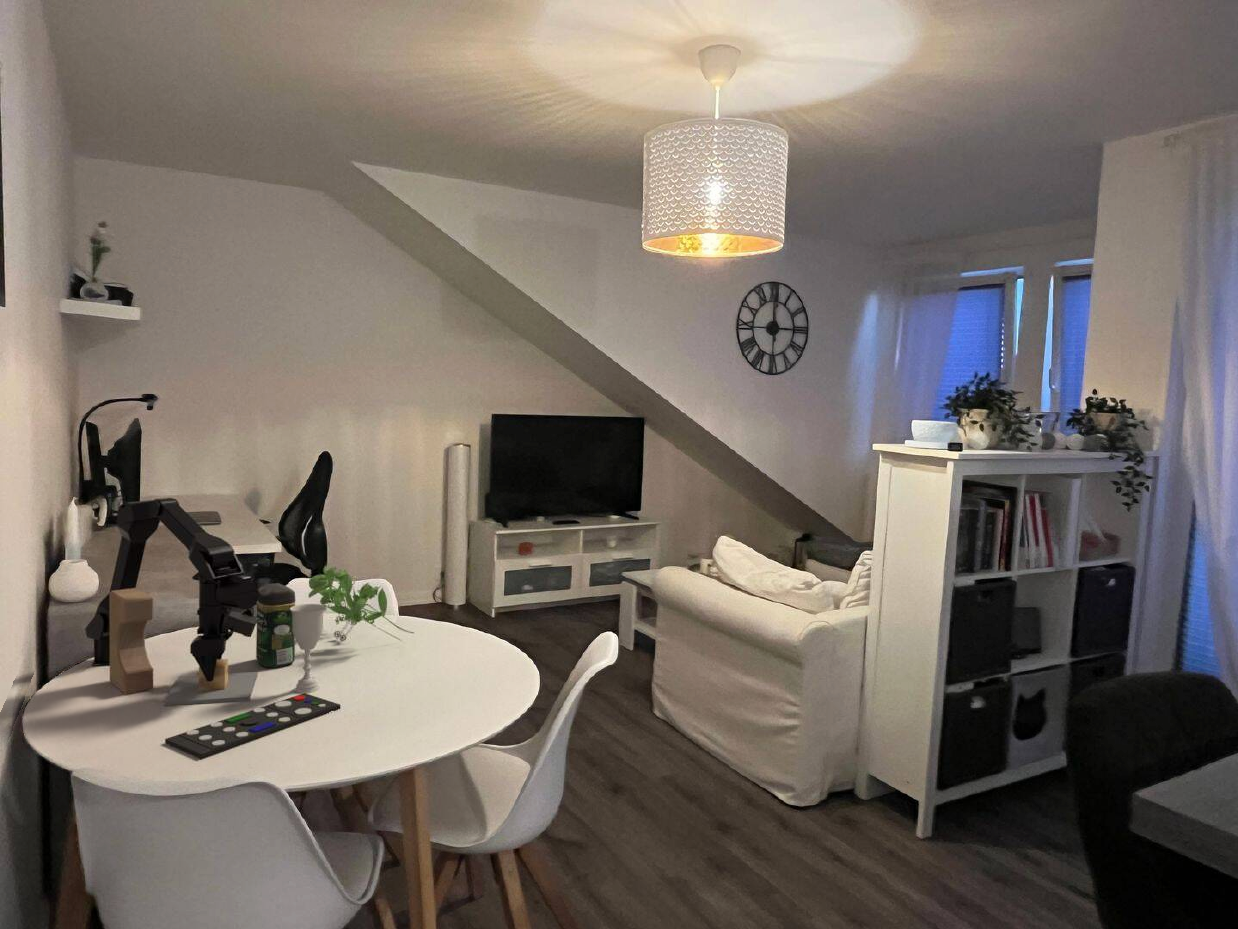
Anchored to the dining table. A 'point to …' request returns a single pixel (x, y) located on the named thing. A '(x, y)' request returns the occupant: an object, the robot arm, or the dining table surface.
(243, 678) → the charcoal mat
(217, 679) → the oak cube
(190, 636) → the dining table surface
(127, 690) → the decorative block
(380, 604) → the plant cuttings
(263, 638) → the coffee jar
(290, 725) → the remote control
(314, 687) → the chalice
